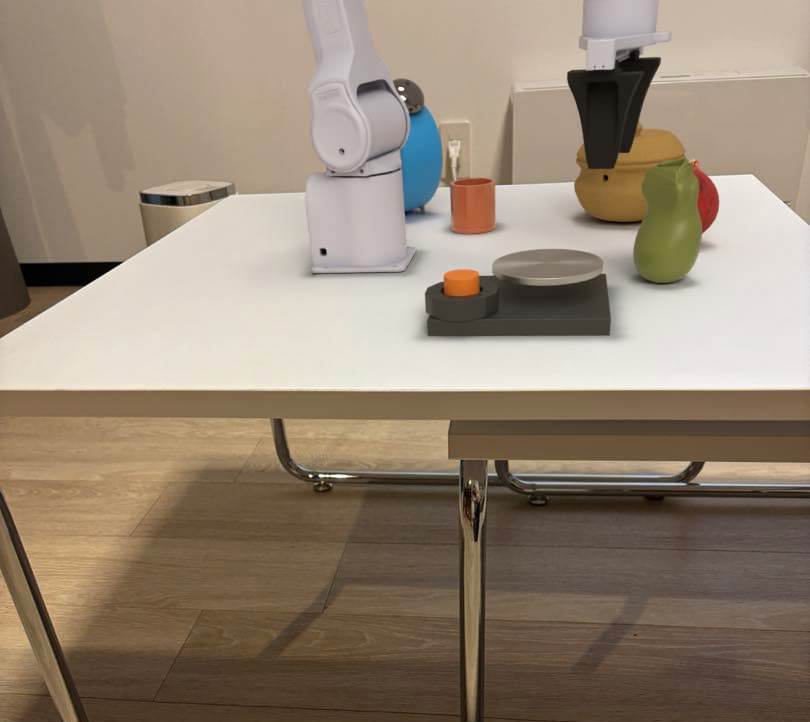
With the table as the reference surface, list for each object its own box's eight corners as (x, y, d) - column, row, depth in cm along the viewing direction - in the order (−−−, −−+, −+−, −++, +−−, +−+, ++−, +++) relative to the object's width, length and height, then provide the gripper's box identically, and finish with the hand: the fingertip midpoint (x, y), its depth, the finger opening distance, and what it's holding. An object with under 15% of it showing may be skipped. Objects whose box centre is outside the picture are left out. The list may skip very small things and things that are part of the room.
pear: (707, 282, 72) (724, 158, 67) (664, 294, 70) (678, 167, 65) (659, 269, 76) (672, 151, 71) (617, 281, 74) (626, 160, 69)
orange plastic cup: (449, 234, 93) (447, 187, 90) (454, 224, 97) (453, 178, 94) (493, 233, 92) (493, 185, 89) (497, 222, 96) (497, 176, 93)
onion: (716, 253, 79) (728, 163, 75) (654, 254, 81) (663, 166, 76) (710, 238, 84) (721, 153, 80) (651, 239, 85) (659, 155, 81)
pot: (552, 224, 94) (556, 126, 88) (604, 203, 101) (610, 112, 95) (648, 235, 87) (658, 130, 82) (696, 212, 94) (708, 114, 89)
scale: (422, 338, 65) (420, 300, 63) (443, 291, 75) (441, 257, 73) (609, 338, 62) (612, 298, 61) (604, 289, 72) (607, 254, 71)
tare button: (441, 299, 64) (441, 279, 63) (446, 288, 67) (445, 269, 66) (477, 299, 64) (477, 279, 63) (481, 288, 66) (480, 268, 65)
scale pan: (487, 287, 65) (487, 279, 65) (496, 256, 72) (496, 249, 72) (604, 285, 63) (605, 277, 63) (601, 254, 71) (601, 247, 70)
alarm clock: (446, 215, 101) (441, 75, 93) (408, 225, 98) (399, 81, 90) (381, 203, 110) (371, 74, 102) (343, 212, 107) (330, 80, 98)
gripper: (664, -39, 56) (644, 176, 63) (688, -38, 67) (669, 145, 74) (561, -31, 58) (554, 176, 66) (601, -31, 69) (591, 146, 77)
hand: (609, 160), depth 70 cm, fingers open, 7 cm apart
